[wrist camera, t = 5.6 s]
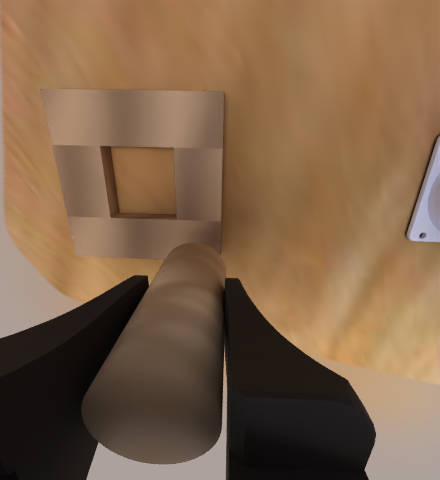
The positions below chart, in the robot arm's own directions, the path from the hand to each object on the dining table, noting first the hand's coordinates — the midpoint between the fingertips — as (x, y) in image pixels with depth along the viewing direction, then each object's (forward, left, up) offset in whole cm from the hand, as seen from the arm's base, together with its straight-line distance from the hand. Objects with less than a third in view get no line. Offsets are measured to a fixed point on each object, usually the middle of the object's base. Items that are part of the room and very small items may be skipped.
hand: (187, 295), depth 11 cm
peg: (0, 0, -3) cm, 3 cm away
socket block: (+5, -4, -10) cm, 11 cm away
